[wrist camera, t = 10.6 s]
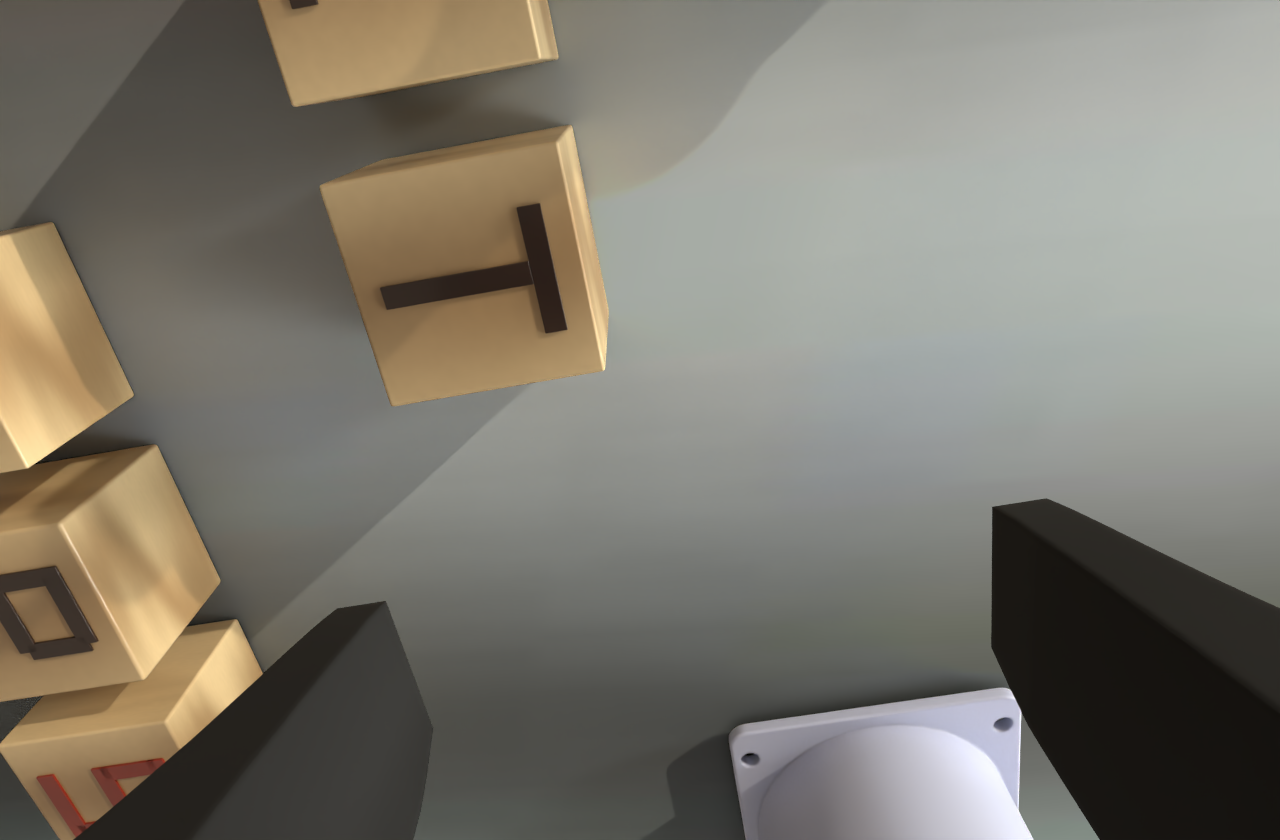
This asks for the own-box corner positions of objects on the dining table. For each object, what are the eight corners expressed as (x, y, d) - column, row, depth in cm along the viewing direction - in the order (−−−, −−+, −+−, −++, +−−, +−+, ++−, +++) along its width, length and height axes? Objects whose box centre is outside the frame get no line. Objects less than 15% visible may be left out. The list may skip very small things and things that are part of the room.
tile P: (223, 581, 20) (144, 683, 17) (74, 605, 21) (-32, 709, 17) (157, 442, 19) (57, 524, 16) (-3, 469, 19) (-137, 556, 16)
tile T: (609, 313, 18) (605, 372, 14) (433, 344, 18) (390, 409, 15) (572, 124, 16) (558, 140, 13) (379, 160, 16) (316, 186, 13)
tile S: (291, 731, 23) (233, 847, 19) (155, 750, 23) (75, 869, 19) (237, 617, 21) (164, 723, 18) (92, 640, 21) (-7, 748, 18)
